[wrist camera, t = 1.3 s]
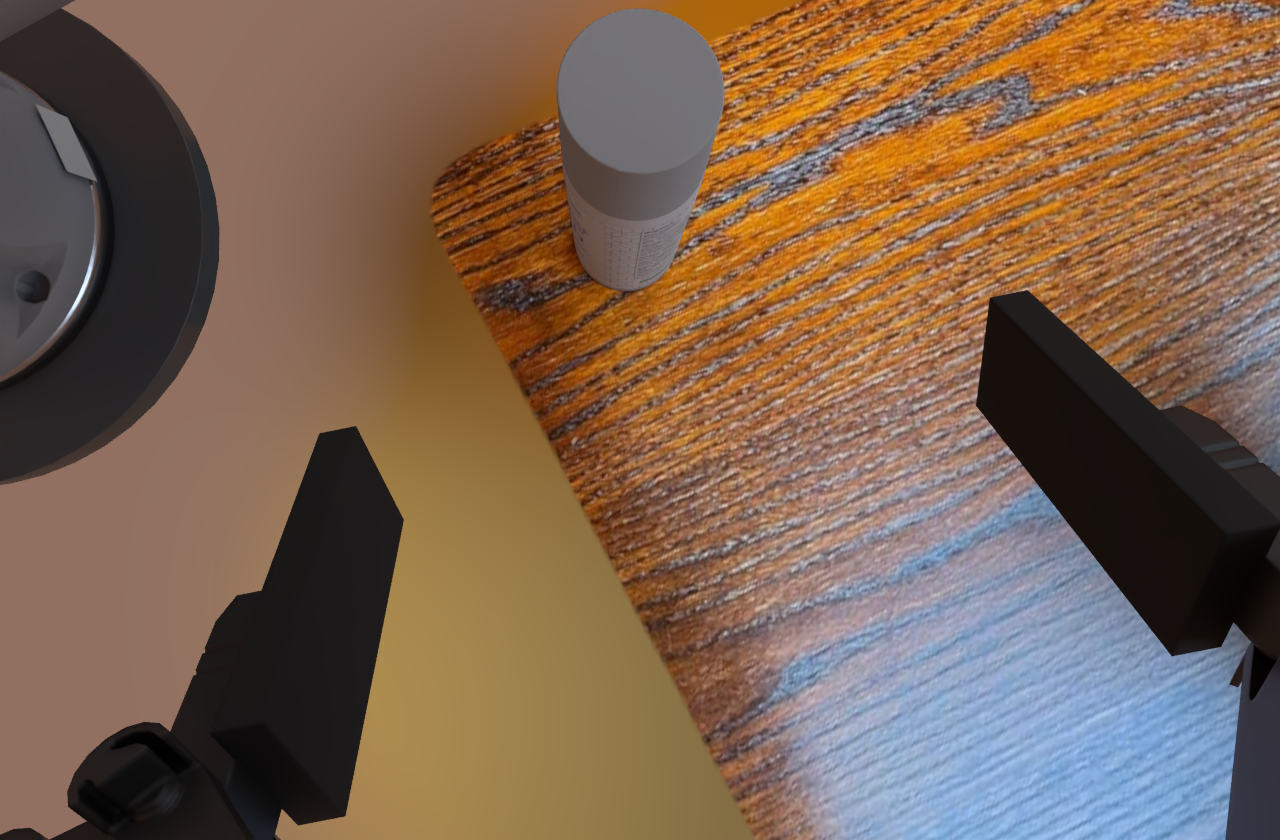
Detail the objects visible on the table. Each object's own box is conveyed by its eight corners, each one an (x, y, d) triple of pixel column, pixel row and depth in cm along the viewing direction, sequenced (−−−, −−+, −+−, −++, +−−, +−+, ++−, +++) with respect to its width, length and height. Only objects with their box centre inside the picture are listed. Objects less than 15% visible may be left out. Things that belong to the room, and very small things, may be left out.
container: (553, 236, 35) (514, 80, 20) (629, 169, 35) (647, -34, 20) (621, 312, 35) (633, 215, 20) (697, 245, 35) (765, 100, 20)
